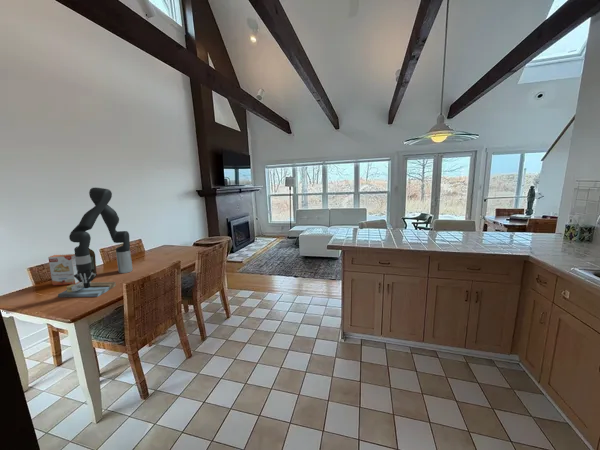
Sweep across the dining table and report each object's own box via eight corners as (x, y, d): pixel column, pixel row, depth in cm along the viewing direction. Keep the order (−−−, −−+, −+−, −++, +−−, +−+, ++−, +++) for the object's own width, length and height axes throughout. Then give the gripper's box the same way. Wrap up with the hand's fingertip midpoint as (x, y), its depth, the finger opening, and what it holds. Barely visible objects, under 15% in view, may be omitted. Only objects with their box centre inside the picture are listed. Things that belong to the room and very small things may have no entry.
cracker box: (52, 285, 177) (47, 256, 173) (58, 282, 183) (54, 254, 179) (75, 284, 179) (70, 255, 176) (80, 281, 185) (76, 253, 182)
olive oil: (79, 273, 200) (75, 243, 196) (96, 270, 207) (92, 241, 203) (80, 277, 192) (76, 245, 188) (98, 274, 200) (94, 243, 196)
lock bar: (87, 282, 174) (86, 277, 173) (91, 282, 174) (91, 277, 173) (71, 291, 160) (71, 285, 160) (77, 290, 161) (76, 285, 160)
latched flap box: (80, 286, 176) (79, 278, 175) (115, 285, 177) (115, 278, 176) (58, 297, 159) (57, 289, 158) (97, 296, 160) (96, 288, 159)
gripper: (98, 260, 165) (101, 285, 168) (77, 260, 165) (81, 285, 167) (89, 263, 158) (93, 290, 160) (67, 264, 157) (71, 290, 160)
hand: (87, 287), depth 164 cm, fingers closed
